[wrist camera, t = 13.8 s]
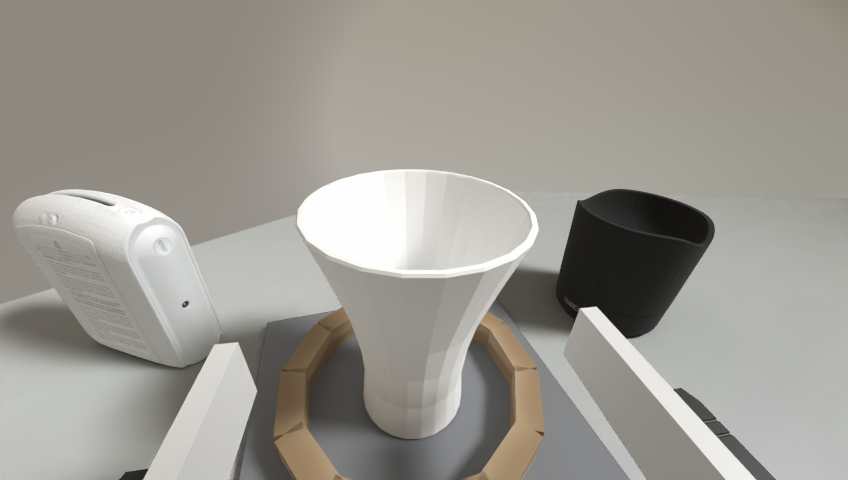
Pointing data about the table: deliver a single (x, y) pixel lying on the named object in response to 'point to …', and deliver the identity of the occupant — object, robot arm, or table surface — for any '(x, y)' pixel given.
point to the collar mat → (427, 457)
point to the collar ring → (307, 362)
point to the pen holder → (630, 256)
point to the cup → (415, 279)
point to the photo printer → (122, 273)
